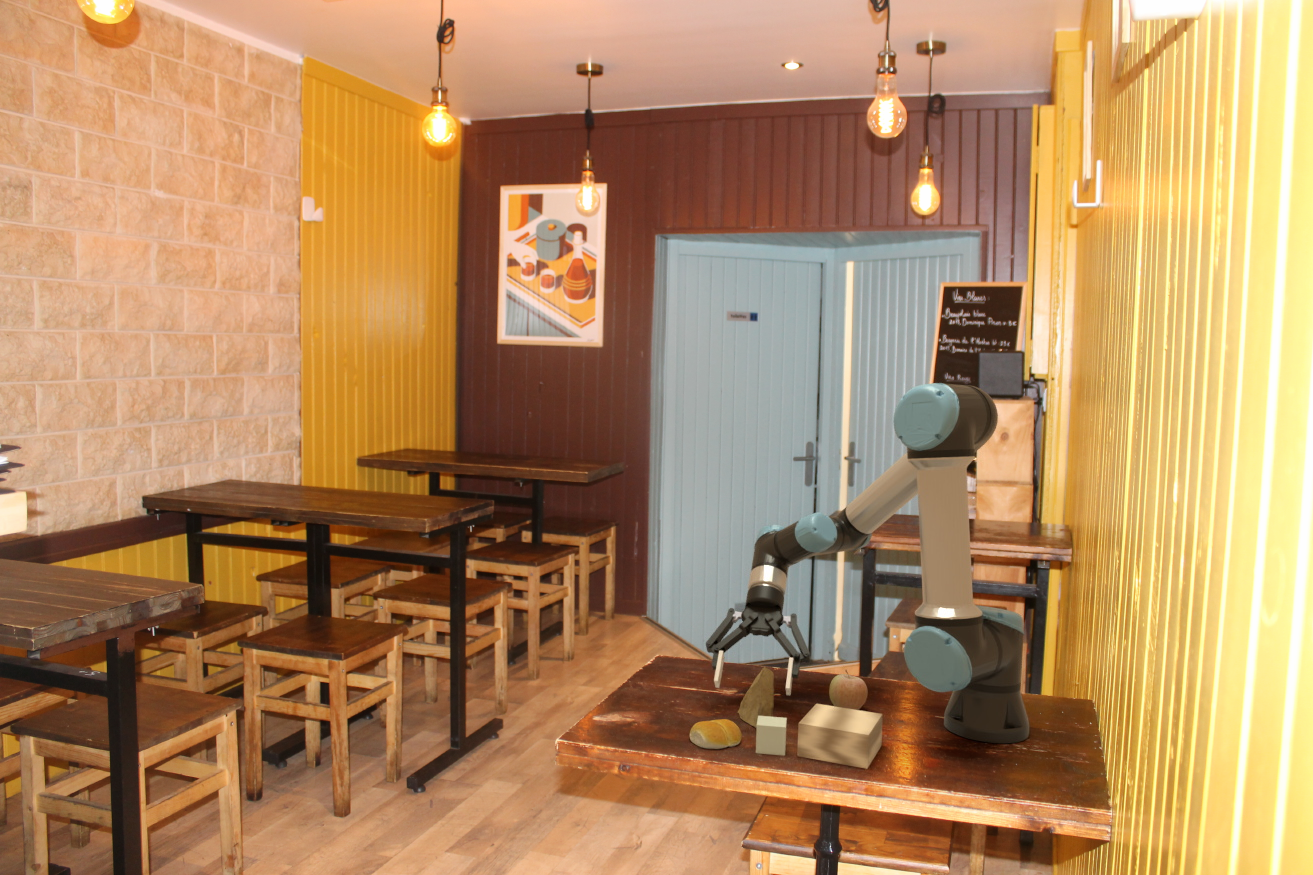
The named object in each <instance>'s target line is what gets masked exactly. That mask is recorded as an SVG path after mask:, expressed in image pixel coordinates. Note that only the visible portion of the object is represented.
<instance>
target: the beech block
mask: <svg viewBox="0 0 1313 875" xmlns="http://www.w3.org/2000/svg"><path fill="white" fill-rule="evenodd" d="M883 717H884V716H883V713H880V712H879V713H878V712H873V711H872V712H871V711H866V710H860V709H859V710H854V709H848V708H841V707H835V706H834V705H829V704H821V703H816V704H814V706H813V707H812V708H811V709H810V710H809V711H808V712H807V713H806V714H805V715H804V717H803V718H802V719H801V720H800V721H799V722H798V725H797V726H798V730H797V733H798V734H797V753H796V754H797V757H800V758H807V759H811V760H812V759H813V760H818V761H821V762H827V763H834V764H839V765H845V766H849V767H850V766H851V767H854V768H862V769H866V770H867V769H869V767H870V765H871V764H872V762H873V760H874V759H875V757H876V755H877V754H878V752H879V751H880V749H881V747H882V742H883V741H882V738H883Z"/></svg>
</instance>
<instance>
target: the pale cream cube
mask: <svg viewBox="0 0 1313 875" xmlns="http://www.w3.org/2000/svg"><path fill="white" fill-rule="evenodd" d="M787 721H788V718H787V717H782V716H781V717H779V716H778V717H777V716H773V717H769V716H758V720H757V729H755V730H756V732H755V733H756V734H755V735H756V738H755V754H761V755H763V754H764V755H773V756H774V755H775V756H786V747H787V746H786V744H787Z"/></svg>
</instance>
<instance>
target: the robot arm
mask: <svg viewBox="0 0 1313 875" xmlns="http://www.w3.org/2000/svg"><path fill="white" fill-rule="evenodd" d="M998 416H999V413H998V409H997V405H996V404H995V401H994V400H993V398H992V397H991V396H990V395H989V394H988V392H986V391H984V390H983V389H981V388H979V387H977V386H974V385H970V384H969V385H968V384H954V383H953V384H952V383H942V382H939V383H938V382H935V383H934V382H932V383H924V384H920V385H919V384H918V385H916V386H914V387H913V388H911V389H909V390H908V391H907V392H905V394H903V396H902V397H901V398H900V400H898V403H897V405H896V406H895V410H894V414H893V422H892V423H893V429H894V432H895V435H896V437H897V438H898V439H900V441H901V443H902V445H904V446H905V447H906V452H905V453H904V454H903V455H902V456H901V457H900V458H899V459H898V460H896V461H895V462H894V463H893V464H892V465H890V467H888V468H887V469H886V471H884V472H883V473H882V474H881V475H880V476H878V478H876V479H875V480H874V481H873V482H872V483H871V484H870V485H869V486H868V487H866V488H865V489H864V490H863V491H862V492H861V493H860V494H859V495H858V496H856V497H855V498H854V499H853V500H852V501H851V502H849V504H848V505H846V506H845V508H843V509H842V510H841V511H840V512H839V513H837V514H836V515H834V516H829V515H825V514H824V513H822V512H814V513H812V514H809V515H805V516H803V517H802V518H800V519H799V520H797V521H795V522H793V523H792V524H790V525H788V526H786V527H785V526H783V525H779V524H772V525H769V524H768V525H765V526H762V527H761V528H760V530H759V531H758V532H757V536H756V541H755V542H754V546H753V548H754V549H753V555H752V564H751V570H750V575H749V581H748V587H747V588H748V589H747V593H746V594H747V595H746V599H745V606H744V609H743V611H737V610H735V608H733V607H730V608H728V610H727V614H726V615H725V616H726V617H725V618H724V619H723V620H722V621H721V623H720V624H719V625H718V627H717V628H716V629H715V630H714V632H713V633H712V634H711V635H710V637H709V638H708V639H707V640H706V642H705V646H706V647H705V648H706V651H707V653H711V654H712V660H711V667H712V670H714V678H713V683H714V686H715V687H714V688H717V689H720V686H721V682H722V681H721V680H722V675H723V668H724V663H725V655H724V654H725V653H726V652H727V651H728V650H729V649H731V648H732V647H733V646H734V645H736V644H737V643H738V642H740V641H741V640H742V639H744V638H746V637H747V636H749V635H750V634H752V636H755V637H756V636H762V637H766V638H767V637H769V636H772V637H773V638H774V639H775V641H777V642H778V643H779V644H780V646H781V647H782V649H783V650H784V651H785V653H786V654H787V655H788V657H789V658H788V665H787V674H786V682H785V694H786V696H791V694H792V684H793V679H798V678H799V675H800V668H801V667H800V666H801V664H802V663H804V662H805V663H809V662H810V661H811V656H810V655H811V653H810V650H809V649H808V646H807V643H806V642H805V639H804V637H803V635H802V632H801V630H800V628H799V626H798V625H799V624H798V617H797V614H796V613H791V614H790V615H783V612H784V604H785V595H786V587H787V580H788V572H789V568H790V567H791V566H793V565H795V564H798V563H800V562H801V561H804V560H806V559H808V558H811V557H814V556H822V555H828V554H834V553H842V552H853V551H857V550H858V549H863V548H865V547H866V546H868V545H869V543H870V542H871V539H872V537H873V532H874V531H876V530H877V529H879V527H880V526H882V525H883V524H884V523H885V522H887V520H889V519H890V518H892V516H894V515H895V514H896V513H897V512H898V511H899V510H900V509H903V507H904V506H906V505H907V504H908V503H909V502H910V501H911V500H913V498H915V497H916V496H917V505H918V526H919V546H920V550H919V551H920V567H921V571H920V572H921V588H922V589H921V590H922V603H921V604H920V605H919V606H918V608H917V609H916V610H914V627H915V628H914V629H913V630H912V632H910V634H909V635H908V637H907V638H906V640H905V643H904V648H903V649H904V650H903V655H904V660H905V664H906V667H907V668H908V671H909V672H910V673H911V675H912V676H913V677H914V678H915V679H916V680H917V681H918V683H919V684H921V685H922V686H923V687H924V688H926V689H928V690H931V691H933V692H937V693H947V692H952V693H951V695H950V698H949V699H948V703H947V705H946V708H945V709H944V710H945V711H944V714H943V716H944V718H943V726H944V727H945V729H947V730H948V731H949V732H951V733H952V734H955V735H957V736H959V737H963V738H965V739H969V740H974V741H978V742H985V743H990V744H991V743H993V744H1013V743H1019V742H1023V741H1026V739H1028V737H1029V735H1030V721H1029V717H1028V714H1027V711H1026V710H1027V709H1026V707H1025V703H1024V701H1023V697H1022V693H1021V689H1022V686H1021V685H1022V670H1023V651H1024V649H1023V648H1024V636H1025V630H1024V619H1023V617H1022V615H1020V614H1019V613H1017V612H1015V611H1013V610H1008V609H1004V608H999V607H998V608H996V607H991V606H985V605H978V604H975V603H974V596H973V595H974V594H973V592H974V591H973V576H972V554H971V553H972V552H971V533H970V517H969V516H970V514H969V494H968V473H967V472H968V470H967V469H968V467H969V465H970V464H971V463H972V462H973V461H974V459H975V458H976V452H977V451H979V449H982V447H984V445H986V443H987V442H988V441H989V440H990V439H991V438H992V437H993V434H995V431H996V429H997V425H998V418H999V417H998ZM739 620H741V621H742V622H741V623H740V624H739V625H738V627H736V628H735V629H734V630H732V632H730V633H729V634H728V632H729V631H730V630H731V629H732V628H733V625H734V624H737V622H738V621H739ZM783 624H785V625H786V626H787V627H788V628H789V629H791V630H790V631H791V633H792V636H793V638H794V641H795V642H796V645H797V647H798V649H799V651H798V650H797V649H796V647H795V646H794V645H793V643H791V641H790V640H789V638H788V637H787V636H786V635H785V633H784V632H783V631H782V628H781V627H782V626H783ZM727 634H728V635H727Z"/></svg>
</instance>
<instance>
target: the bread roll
mask: <svg viewBox="0 0 1313 875" xmlns="http://www.w3.org/2000/svg"><path fill="white" fill-rule="evenodd" d="M689 739H690V742H692V743H693V744H694V745H696V746H698V747H699V748H701V749H702V748H703V749H707V750H708V749H709V750H720V749H721V750H722V749H725V748H728V747H729V748H731V747H735V746H738V745H739V744H740V743H741V740H742V731H741V729H740V727H739V726H738V725H737V724H736V723H735V722H734V721H733V720H730V719H728V718H722V719H721V718H720V719H712V720H703V721H702V720H701V721H698V722H695V723H694V724H693V725H692V727H691V729H690V731H689Z"/></svg>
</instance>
